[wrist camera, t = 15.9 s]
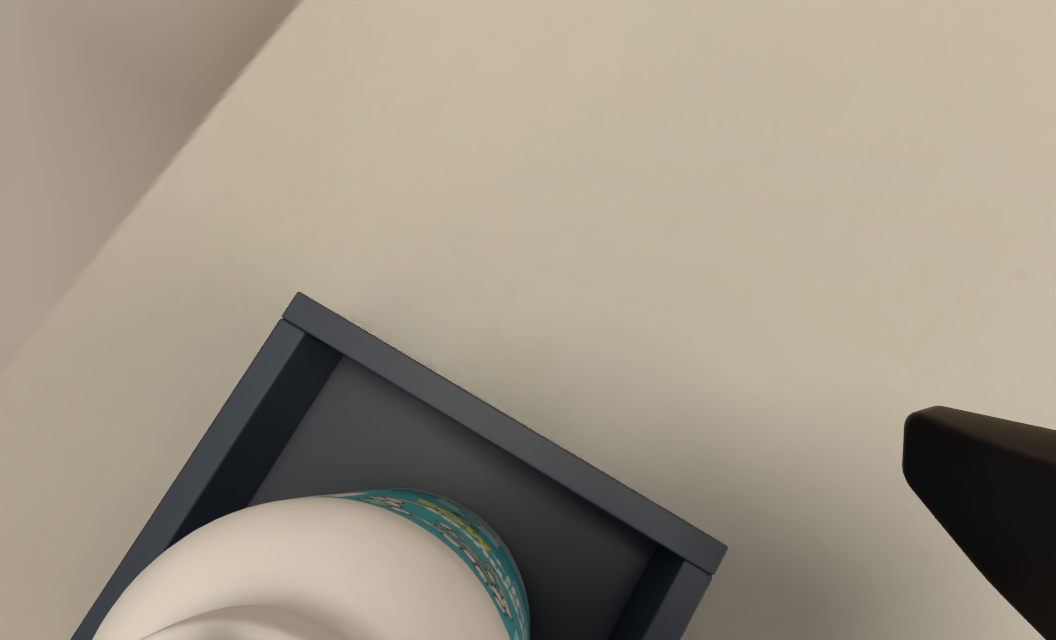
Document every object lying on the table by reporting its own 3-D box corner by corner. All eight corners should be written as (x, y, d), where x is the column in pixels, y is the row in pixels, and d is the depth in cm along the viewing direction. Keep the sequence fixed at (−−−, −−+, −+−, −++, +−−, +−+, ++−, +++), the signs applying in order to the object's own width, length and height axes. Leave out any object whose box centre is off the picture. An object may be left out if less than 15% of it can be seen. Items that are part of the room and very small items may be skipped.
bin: (475, 937, 21) (458, 1062, 17) (106, 687, 23) (1, 741, 18) (693, 530, 23) (729, 547, 19) (341, 321, 25) (297, 290, 20)
